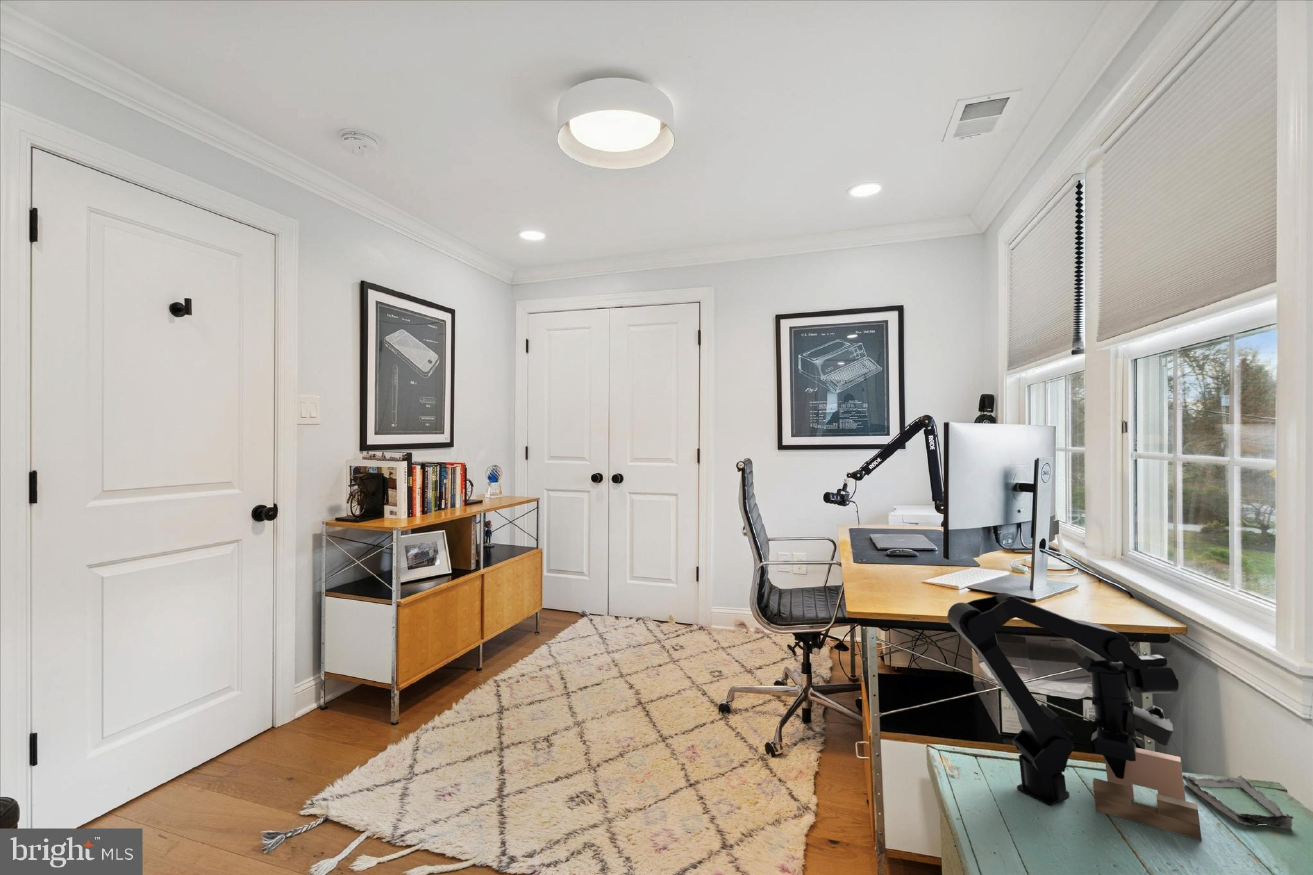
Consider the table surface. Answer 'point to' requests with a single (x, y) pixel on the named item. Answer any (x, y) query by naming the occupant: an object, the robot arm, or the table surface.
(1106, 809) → the cross rail
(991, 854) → the table surface
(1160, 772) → the crosspiece
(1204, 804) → the table surface
